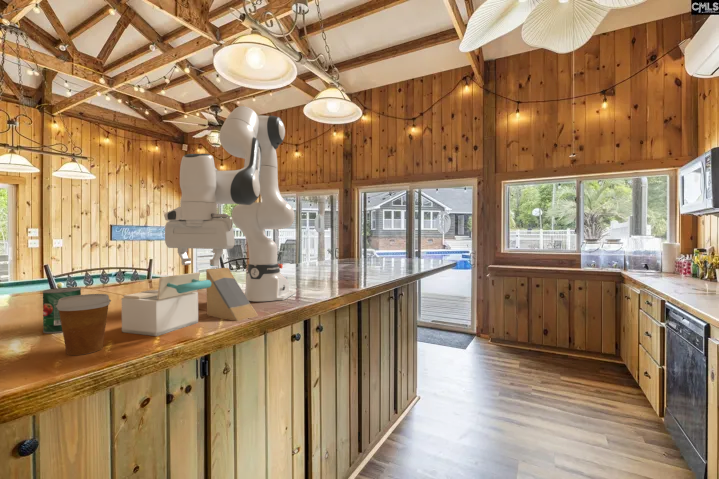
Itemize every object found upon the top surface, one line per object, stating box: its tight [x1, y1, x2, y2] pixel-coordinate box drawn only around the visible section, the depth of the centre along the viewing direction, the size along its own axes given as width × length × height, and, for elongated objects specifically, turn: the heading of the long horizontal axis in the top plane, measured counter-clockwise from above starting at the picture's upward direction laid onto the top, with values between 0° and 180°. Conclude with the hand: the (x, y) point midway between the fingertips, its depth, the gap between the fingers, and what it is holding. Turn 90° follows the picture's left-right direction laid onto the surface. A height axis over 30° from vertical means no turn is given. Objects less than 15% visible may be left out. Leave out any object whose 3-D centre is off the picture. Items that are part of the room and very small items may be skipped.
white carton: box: [121, 291, 199, 337], centre depth 94 cm, size 14×12×9 cm
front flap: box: [157, 271, 211, 299], centre depth 92 cm, size 13×6×6 cm
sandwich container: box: [205, 267, 259, 322], centre depth 108 cm, size 9×15×15 cm, turn 59°
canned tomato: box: [42, 286, 82, 334], centre depth 92 cm, size 8×8×11 cm
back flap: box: [122, 289, 158, 299], centre depth 95 cm, size 13×6×1 cm, turn 162°
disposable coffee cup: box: [56, 293, 112, 356], centre depth 75 cm, size 10×10×12 cm
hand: (200, 265), depth 91 cm, fingers open, 8 cm apart
